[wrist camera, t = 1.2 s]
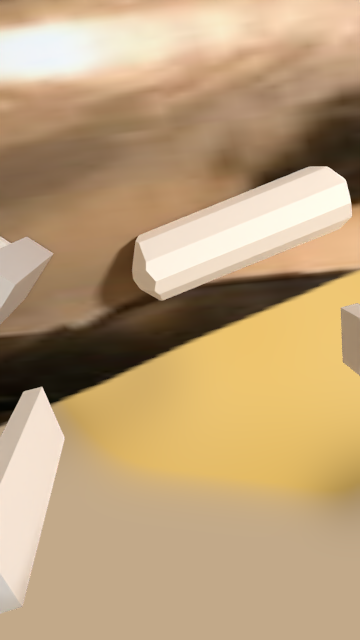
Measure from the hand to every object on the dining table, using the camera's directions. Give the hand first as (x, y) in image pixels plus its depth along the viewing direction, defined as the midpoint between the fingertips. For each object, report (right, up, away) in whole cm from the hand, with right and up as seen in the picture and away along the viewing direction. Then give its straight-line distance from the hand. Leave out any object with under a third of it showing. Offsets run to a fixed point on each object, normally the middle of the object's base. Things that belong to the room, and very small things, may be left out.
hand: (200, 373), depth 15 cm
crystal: (+5, +12, +24) cm, 27 cm away
